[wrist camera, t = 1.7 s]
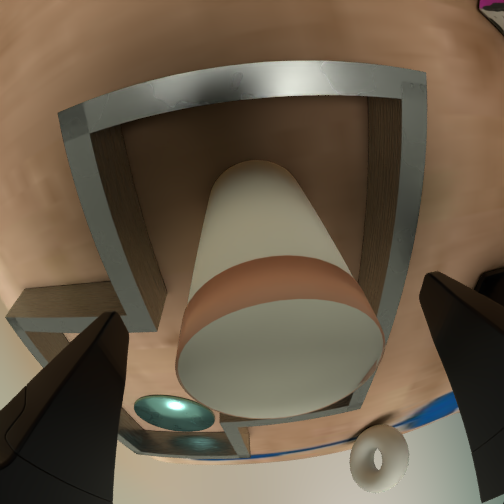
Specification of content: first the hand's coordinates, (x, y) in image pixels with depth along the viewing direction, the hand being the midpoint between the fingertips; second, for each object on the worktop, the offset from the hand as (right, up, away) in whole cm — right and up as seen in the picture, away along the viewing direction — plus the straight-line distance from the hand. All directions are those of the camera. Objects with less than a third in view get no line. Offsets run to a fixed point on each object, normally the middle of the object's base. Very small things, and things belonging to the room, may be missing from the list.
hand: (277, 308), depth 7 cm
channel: (-4, -5, +11) cm, 13 cm away
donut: (+15, -22, +23) cm, 35 cm away
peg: (-1, +4, +6) cm, 7 cm away
